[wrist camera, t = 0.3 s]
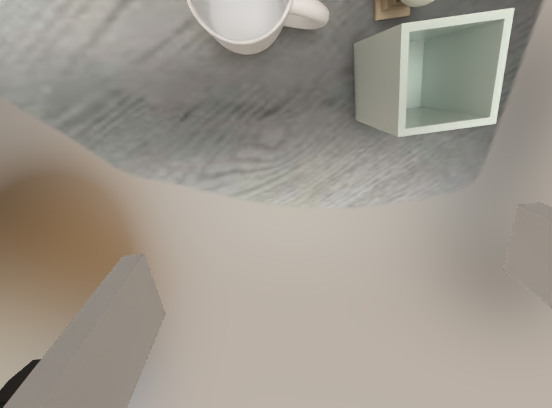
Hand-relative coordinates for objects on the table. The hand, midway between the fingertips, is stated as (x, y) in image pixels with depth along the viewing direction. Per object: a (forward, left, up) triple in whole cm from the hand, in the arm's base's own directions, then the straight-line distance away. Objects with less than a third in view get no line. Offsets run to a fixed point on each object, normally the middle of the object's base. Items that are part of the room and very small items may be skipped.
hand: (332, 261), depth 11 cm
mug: (-13, 0, -28) cm, 30 cm away
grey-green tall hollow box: (-5, +13, -27) cm, 31 cm away
